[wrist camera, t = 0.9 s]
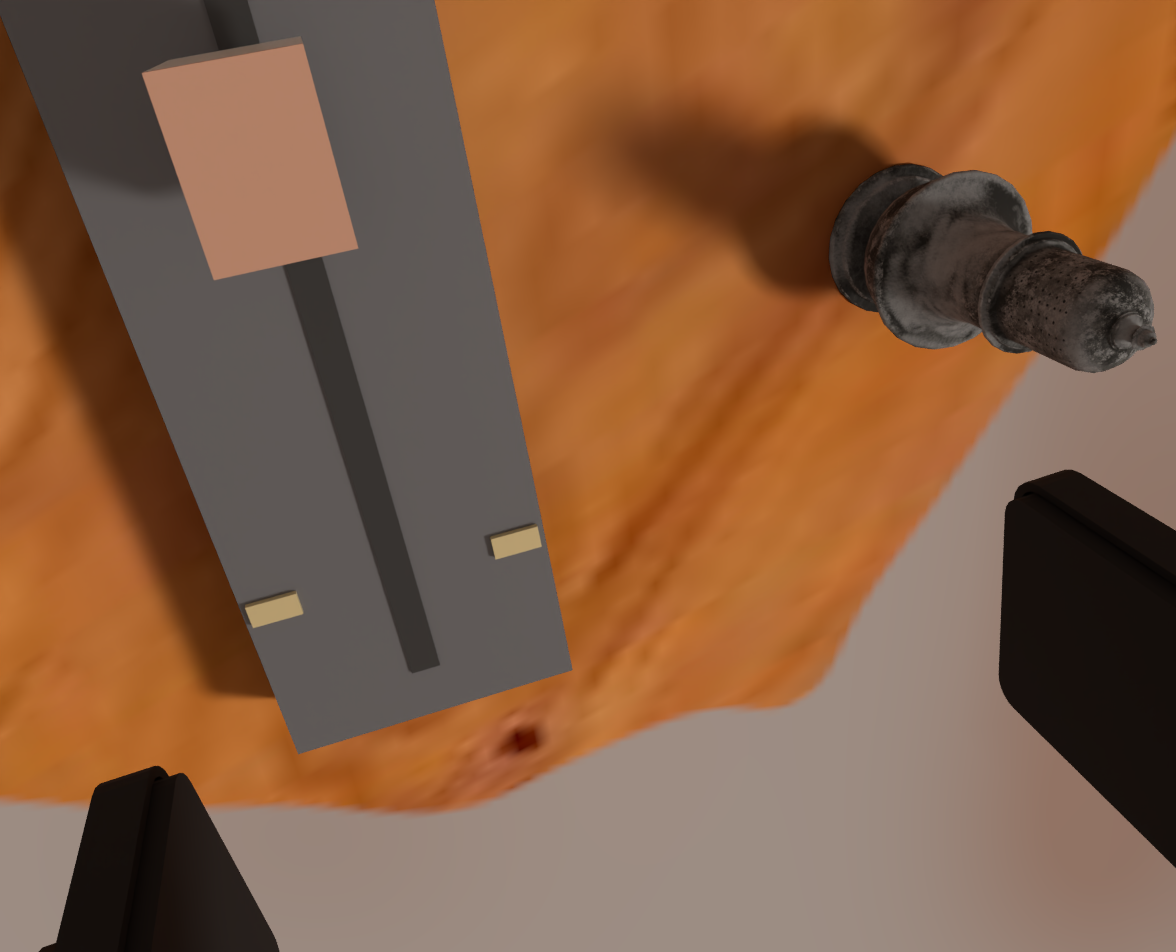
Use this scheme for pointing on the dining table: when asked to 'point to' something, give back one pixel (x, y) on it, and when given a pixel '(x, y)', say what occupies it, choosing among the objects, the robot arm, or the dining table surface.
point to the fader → (252, 156)
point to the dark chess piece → (982, 271)
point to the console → (322, 361)
